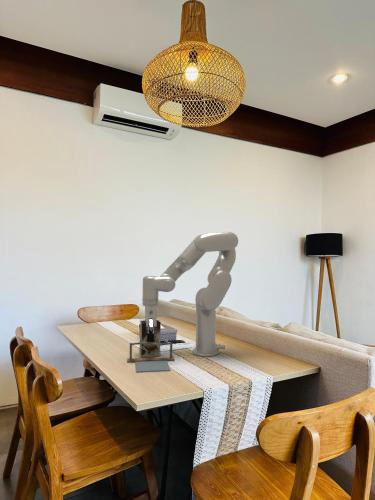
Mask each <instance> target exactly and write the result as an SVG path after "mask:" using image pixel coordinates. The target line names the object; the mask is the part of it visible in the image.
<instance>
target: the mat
mask: <svg viewBox="0 0 375 500" xmlns="http://www.w3.org/2000/svg"><path fill="white" fill-rule="evenodd" d="M168 362H169V361H168ZM168 362H167V361H145V362H135V373H152V372H153V373H154V372H155V373H156V372H157V373H158V372H171V367H170V364H169V363H168Z"/></svg>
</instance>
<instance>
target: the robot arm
mask: <svg viewBox="0 0 375 500" xmlns="http://www.w3.org/2000/svg"><path fill="white" fill-rule="evenodd" d="M238 245H239V237H238V236H237V234H236V233H234V232H232V231H227V232H226V231H225V232H215V233H202V234H199V235H197V236H196V237H194V239H193V240H192V241H191V242H190V244H188V246H187V247H186V248H185V249H184V250H183V251H182V253H181V254H179V255H178V256H177V258H176V259H175V260H174V261H173V262H172V263H171V264H170V265H169V266H168V267H167V268H166V269H165V271H164V272H162V274H161V275H160V276H155V275H146V276H143V277H142V299H141V300H142V302H141V303H142V305H141V306H143V307H144V320H145V322H146V327H147V328H148V333H147V342H154V327H157V320H158V319H157V307H158V306H159V292H164V293H170V292H172V291H173V290H174V289H175V288H176V281H177V280H178V279H179V278H180V277H181V276H182V275H183V274H184V273H186V272H187V271H190V270H191V269H192V268H194V267H195V265H196V264H197V263H198V262H199V261H200V260H201V258H203V257H204V255H205V254H206V253H210V252H213V253H214V252H218V256H217V259H216V260H215V262H214V264H213V265H212V268H211V270H210V271H209V273H208V275H207V282H208V283H207V286H206V287H202V288H200V289H198V291H197V292H196V295H195V315H196V316H195V348H193V349H192V354H193V355H194V356H198V357H214V356H217V355H219V350H225V349H226V345H225V344H221V343H219V344H217V343H216V336H217V335H216V334H217V333H216V330H217V329H216V322H217V317H216V315H217V313H216V309H217V308H219V307H220V305H221V304H222V302H223V300H224V299H225V296H226V295H227V293H228V291H229V289H230V288H231V284H232V275H231V274H230V273H231V271H232V269H233V266H234V265H235V262H236V258H237V251H236V248H237V247H238ZM149 321H150V322H149ZM148 324H149V325H150V327H149V325H148ZM149 328H150V329H149Z"/></svg>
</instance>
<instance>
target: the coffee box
mask: <svg viewBox="0 0 375 500" xmlns="http://www.w3.org/2000/svg"><path fill="white" fill-rule="evenodd" d="M149 322H150V321H149ZM148 325H149V324H148ZM161 325H162V323H161V321H160V320H159V319H157V327H154V342H150V343H161V331H162V330H161V329H162V328H161ZM149 327H150V325H149ZM149 329H150V328H149ZM147 333H148V328H147V327H146V322H145V319H143V320H140V321H139V342H147ZM138 352H139V356H140V358H158V357H161V345H150V344H139V351H138Z"/></svg>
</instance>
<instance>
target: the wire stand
mask: <svg viewBox="0 0 375 500" xmlns="http://www.w3.org/2000/svg"><path fill="white" fill-rule="evenodd" d="M140 344H150V345H160V346H164V345H169V356H167V357H166V356H164V357H161V356H158V357H143V358H141V357H137V358H135V357H134V358H133V346H137V345H140ZM145 361H167V362H175V361H176V360H175V357H174V356H173V341H170V342H169V341H168V342H160V343H150V342H140V341H138V342H130V343H129V358H127V360H126V363H127V364H133V363H135V362H145Z"/></svg>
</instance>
